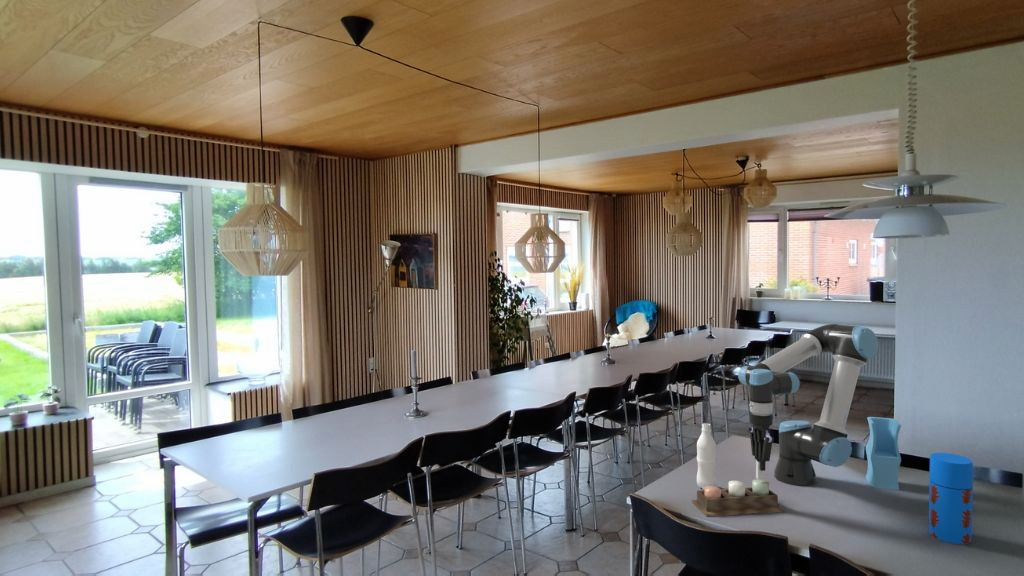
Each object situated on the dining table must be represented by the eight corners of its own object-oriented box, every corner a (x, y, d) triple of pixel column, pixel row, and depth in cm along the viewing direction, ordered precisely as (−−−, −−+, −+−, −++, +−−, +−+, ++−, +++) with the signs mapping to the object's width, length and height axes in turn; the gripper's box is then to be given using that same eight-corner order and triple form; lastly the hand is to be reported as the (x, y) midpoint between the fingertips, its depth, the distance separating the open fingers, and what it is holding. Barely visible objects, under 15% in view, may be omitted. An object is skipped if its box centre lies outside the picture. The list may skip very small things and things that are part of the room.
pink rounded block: (716, 499, 207) (716, 485, 207) (723, 505, 202) (723, 491, 202) (701, 499, 207) (701, 486, 206) (708, 506, 201) (708, 492, 201)
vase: (870, 486, 221) (871, 422, 220) (865, 477, 231) (866, 416, 229) (900, 490, 218) (901, 425, 217) (894, 481, 227) (895, 418, 226)
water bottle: (717, 492, 219) (717, 427, 217) (697, 490, 220) (697, 426, 219) (714, 484, 226) (714, 422, 224) (695, 483, 227) (695, 421, 226)
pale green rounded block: (763, 492, 209) (763, 478, 209) (772, 498, 204) (772, 484, 203) (749, 493, 208) (749, 479, 208) (757, 499, 203) (757, 485, 203)
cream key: (740, 493, 208) (740, 480, 208) (748, 499, 203) (748, 485, 202) (725, 494, 207) (725, 480, 207) (733, 500, 202) (733, 486, 202)
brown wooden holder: (764, 497, 213) (764, 484, 212) (783, 511, 201) (783, 497, 200) (692, 502, 210) (692, 488, 209) (706, 516, 198) (706, 502, 198)
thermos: (920, 529, 186) (921, 453, 185) (950, 527, 187) (952, 451, 186) (948, 545, 175) (949, 465, 174) (980, 543, 176) (982, 463, 175)
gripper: (741, 408, 211) (741, 472, 212) (760, 418, 198) (760, 485, 199) (761, 408, 212) (760, 471, 213) (781, 417, 199) (780, 484, 200)
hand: (760, 478), depth 206 cm, fingers closed
